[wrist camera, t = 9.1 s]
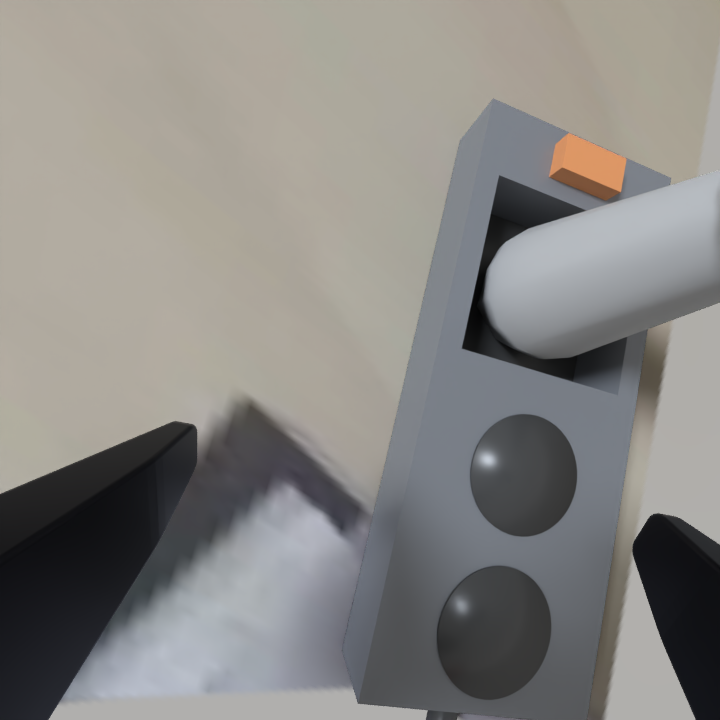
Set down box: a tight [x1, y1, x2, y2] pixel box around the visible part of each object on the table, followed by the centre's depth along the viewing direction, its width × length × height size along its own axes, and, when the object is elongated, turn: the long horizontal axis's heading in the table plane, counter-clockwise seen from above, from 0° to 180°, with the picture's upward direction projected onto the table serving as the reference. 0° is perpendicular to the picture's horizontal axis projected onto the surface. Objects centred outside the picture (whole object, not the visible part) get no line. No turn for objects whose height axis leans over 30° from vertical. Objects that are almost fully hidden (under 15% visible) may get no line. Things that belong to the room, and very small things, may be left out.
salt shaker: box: [477, 170, 720, 359], centre depth 14 cm, size 6×6×13 cm
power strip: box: [342, 99, 671, 720], centre depth 17 cm, size 31×10×4 cm, turn 165°
